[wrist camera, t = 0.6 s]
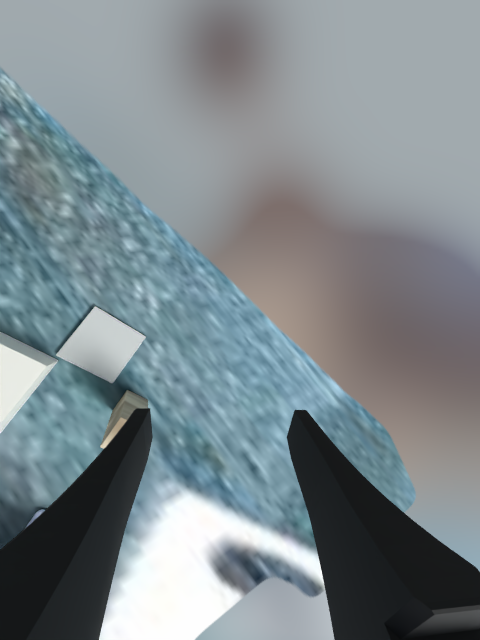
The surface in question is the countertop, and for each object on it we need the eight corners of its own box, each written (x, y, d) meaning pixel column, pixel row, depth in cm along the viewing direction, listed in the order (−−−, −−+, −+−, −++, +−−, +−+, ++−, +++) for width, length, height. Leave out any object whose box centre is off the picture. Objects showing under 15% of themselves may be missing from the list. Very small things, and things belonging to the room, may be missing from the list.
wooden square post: (133, 420, 30) (130, 458, 22) (112, 410, 29) (100, 447, 21) (147, 399, 31) (148, 430, 23) (127, 389, 30) (120, 417, 22)
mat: (112, 382, 29) (112, 383, 29) (57, 354, 27) (55, 355, 27) (146, 336, 31) (146, 336, 30) (95, 306, 28) (95, 306, 28)
